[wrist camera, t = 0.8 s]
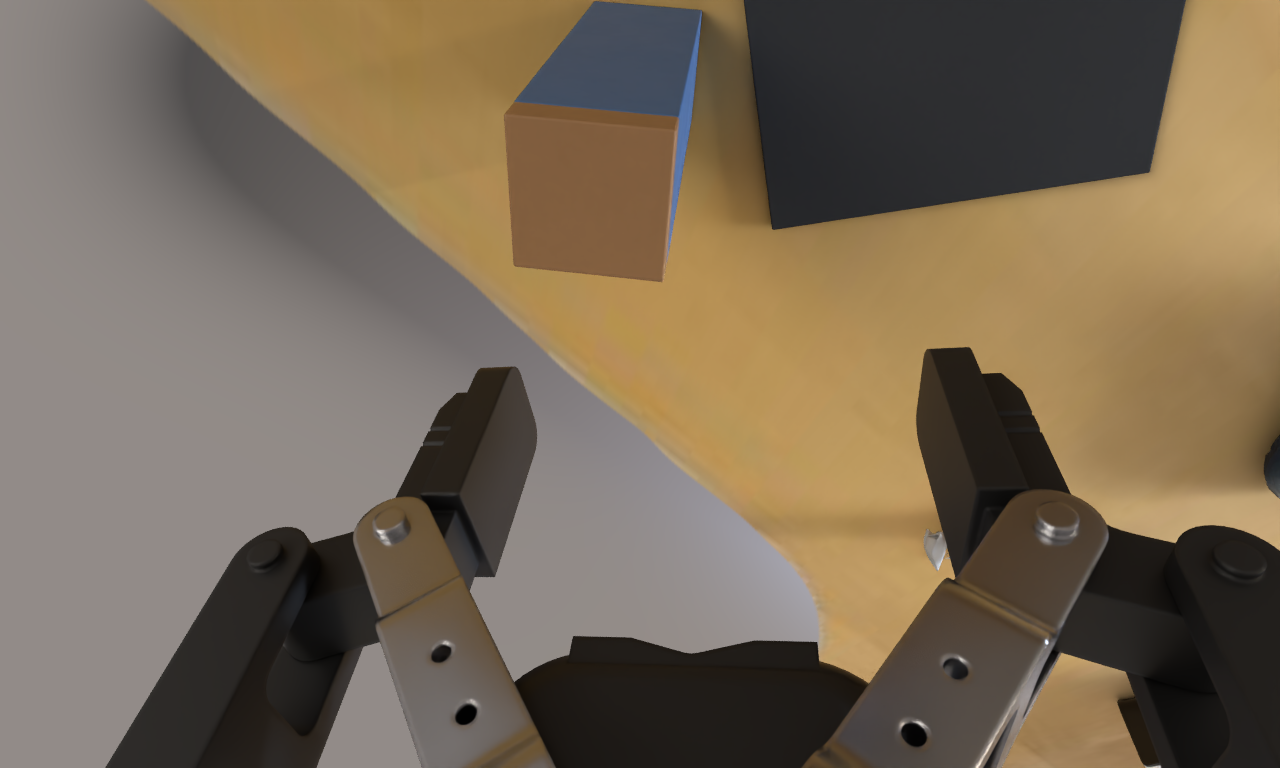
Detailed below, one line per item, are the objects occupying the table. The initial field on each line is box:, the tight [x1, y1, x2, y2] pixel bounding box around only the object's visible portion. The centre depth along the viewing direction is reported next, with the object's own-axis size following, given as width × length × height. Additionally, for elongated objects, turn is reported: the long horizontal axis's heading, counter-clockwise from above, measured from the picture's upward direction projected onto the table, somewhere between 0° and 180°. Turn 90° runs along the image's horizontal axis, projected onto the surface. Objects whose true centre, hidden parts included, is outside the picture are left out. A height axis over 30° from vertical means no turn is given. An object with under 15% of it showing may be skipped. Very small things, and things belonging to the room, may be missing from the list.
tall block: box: [504, 1, 702, 282], centre depth 28 cm, size 5×5×16 cm
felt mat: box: [744, 0, 1186, 230], centre depth 32 cm, size 17×18×1 cm
